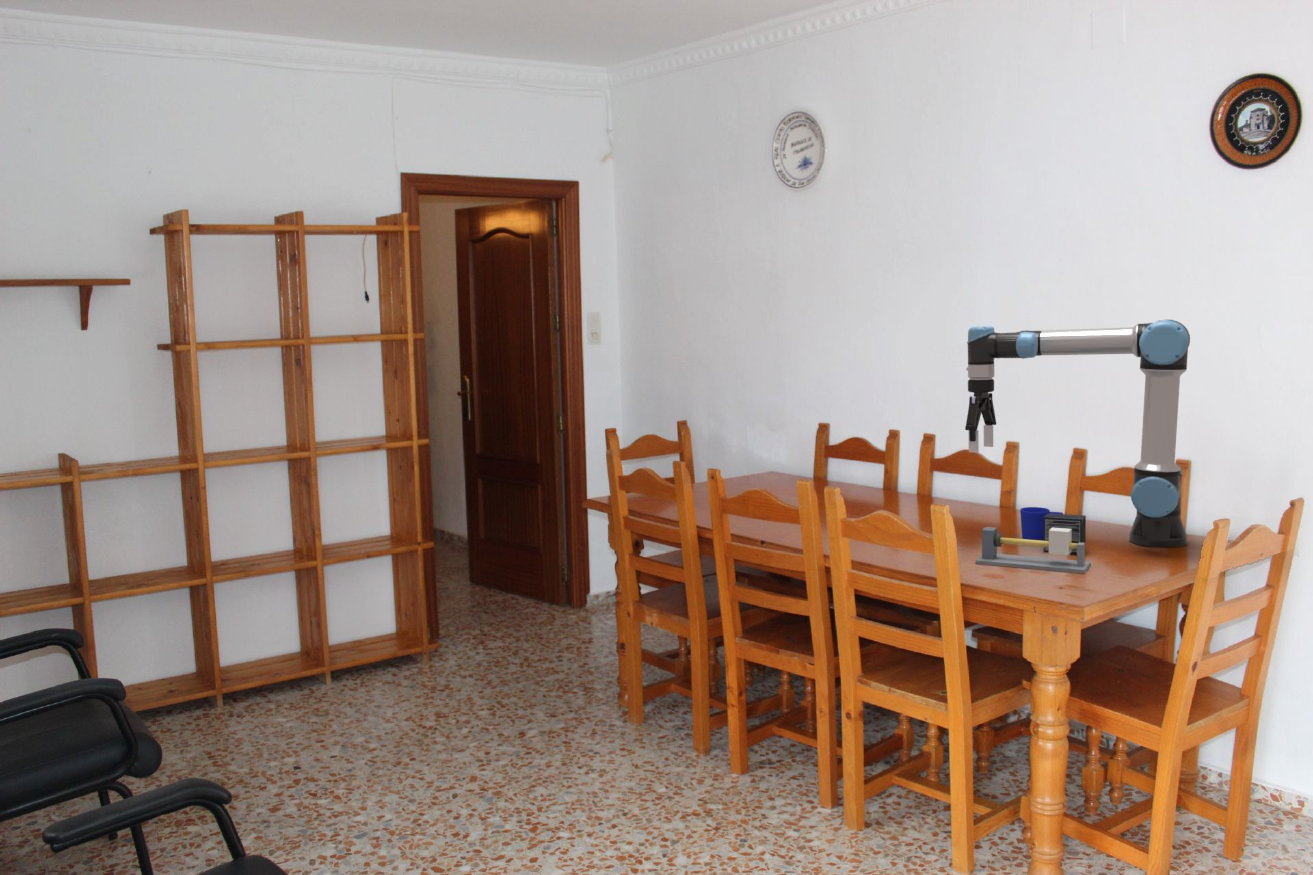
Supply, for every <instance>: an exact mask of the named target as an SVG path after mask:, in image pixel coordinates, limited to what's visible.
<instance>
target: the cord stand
mask: <svg viewBox="0 0 1313 875" xmlns="http://www.w3.org/2000/svg"><path fill="white" fill-rule="evenodd" d="M1003 544H1004V545H1005V544H1006V545H1015V546H1016V545H1017V546H1018V545H1020V546H1030V547H1031V546H1032V547H1041V548H1044V547H1049V541H1040V540H1027V539H1022V538H1013V537H1012V538H1011V537H1003V535H1002V533H998V527H991V526H985V527H983V529H982V530H981V555H980V556H979V557H977V559H975V565H985V566H996V567H1007V568H1015V569H1016V568H1019V569H1028V570H1038V571H1039V570H1041V571H1050V572H1060V573H1061V572H1062V573H1063V572H1064V573H1070V574H1072V573H1073V574H1083V575H1084V574H1086V572H1087V571H1088V570H1089V568H1090V567H1091V565H1092V563H1091V562H1092V561H1087V560H1086V558H1085V557H1086V556H1085V555H1086V554H1085V553H1086V542H1085V543H1080V542H1079V543H1069V549H1077V555H1076V560H1074V559H1065V558H1053V557H1052V558H1051V557H1049V558H1048V557H1040V556H1030V555H1029V556H1028V555H1017V554H1016V555H1015V554H1007V553H1006V554H1005V553H1004V554H1003V553H998V547H999V548H1001V547H1002V545H1003Z"/></svg>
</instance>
